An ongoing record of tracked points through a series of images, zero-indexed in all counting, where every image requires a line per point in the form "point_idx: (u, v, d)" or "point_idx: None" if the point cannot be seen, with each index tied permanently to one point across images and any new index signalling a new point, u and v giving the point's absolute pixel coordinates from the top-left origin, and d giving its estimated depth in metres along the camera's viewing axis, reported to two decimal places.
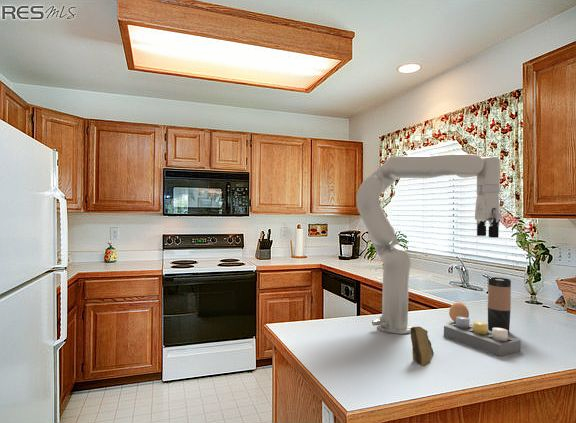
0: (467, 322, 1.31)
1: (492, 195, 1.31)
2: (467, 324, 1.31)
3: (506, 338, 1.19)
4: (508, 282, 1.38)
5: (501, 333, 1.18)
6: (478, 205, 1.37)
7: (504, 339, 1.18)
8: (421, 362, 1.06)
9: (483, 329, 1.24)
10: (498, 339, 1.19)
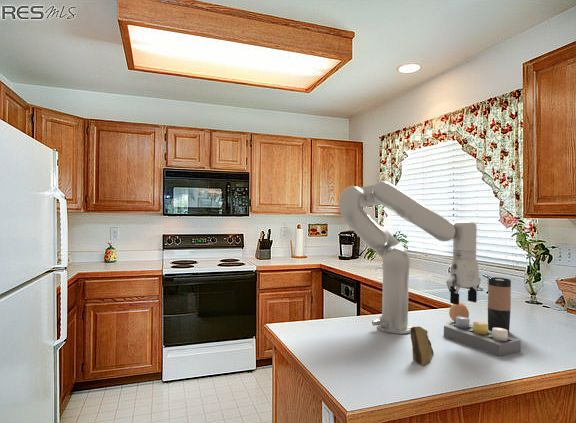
0: (467, 322, 1.31)
1: None
2: (467, 324, 1.31)
3: (506, 338, 1.19)
4: (508, 282, 1.38)
5: (501, 333, 1.18)
6: (468, 272, 1.30)
7: (504, 339, 1.18)
8: (421, 362, 1.06)
9: (483, 329, 1.24)
10: (498, 339, 1.19)
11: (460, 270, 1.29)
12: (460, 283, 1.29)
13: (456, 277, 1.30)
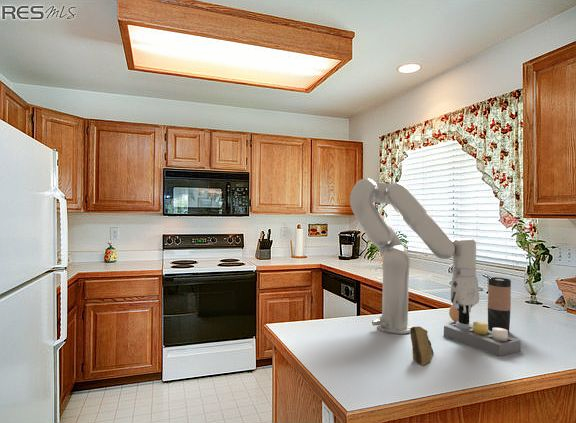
0: (467, 327, 1.31)
1: None
2: None
3: (506, 338, 1.19)
4: (508, 282, 1.38)
5: (501, 333, 1.18)
6: (468, 289, 1.30)
7: (504, 339, 1.18)
8: (421, 362, 1.06)
9: (483, 329, 1.24)
10: (498, 339, 1.19)
11: (460, 288, 1.29)
12: (460, 301, 1.29)
13: (456, 295, 1.30)
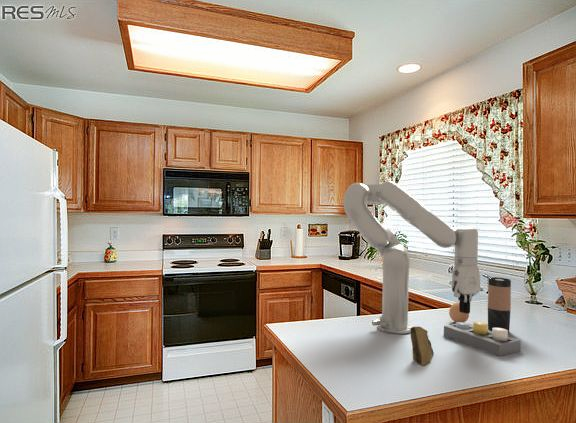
0: (467, 328, 1.31)
1: None
2: None
3: (506, 338, 1.19)
4: (508, 282, 1.38)
5: (501, 333, 1.18)
6: (470, 278, 1.29)
7: (504, 339, 1.18)
8: (421, 362, 1.06)
9: (483, 329, 1.24)
10: (498, 339, 1.19)
11: (461, 277, 1.28)
12: (461, 290, 1.28)
13: (457, 284, 1.29)
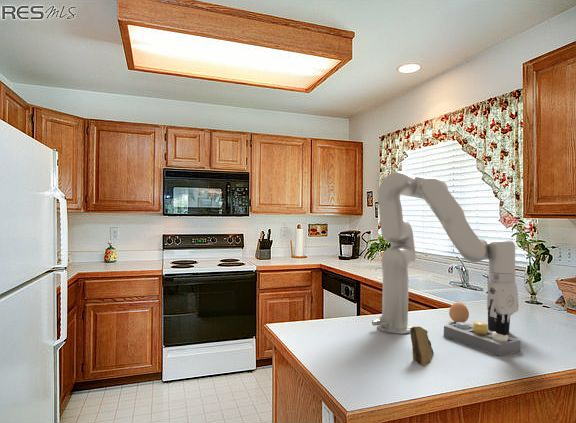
0: (467, 328, 1.31)
1: None
2: None
3: None
4: None
5: (501, 337, 1.18)
6: (507, 296, 1.17)
7: None
8: (421, 362, 1.06)
9: (483, 329, 1.24)
10: None
11: (499, 295, 1.16)
12: (499, 309, 1.16)
13: (494, 303, 1.17)
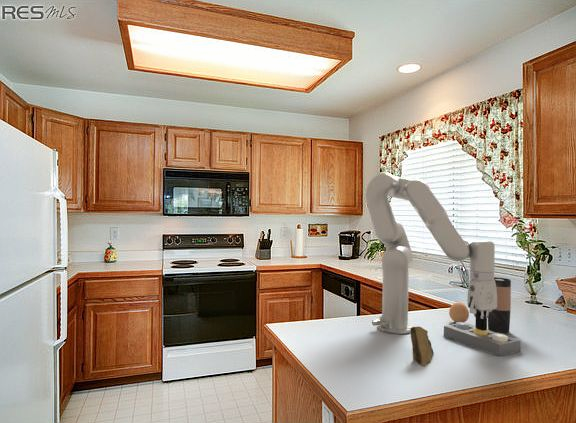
0: (467, 328, 1.31)
1: None
2: None
3: None
4: (508, 282, 1.38)
5: (501, 339, 1.18)
6: (486, 294, 1.24)
7: None
8: (421, 362, 1.06)
9: (483, 335, 1.24)
10: None
11: (478, 292, 1.23)
12: (478, 306, 1.22)
13: (474, 299, 1.24)
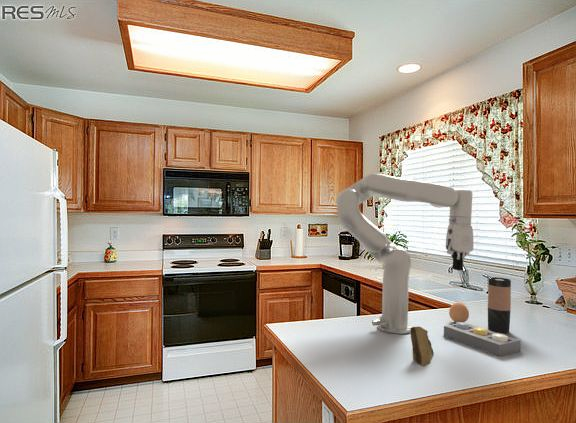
0: (467, 328, 1.31)
1: None
2: None
3: None
4: (508, 282, 1.38)
5: (501, 339, 1.18)
6: (463, 236, 1.36)
7: None
8: (421, 362, 1.06)
9: (483, 335, 1.24)
10: None
11: (455, 234, 1.36)
12: (454, 247, 1.35)
13: (451, 241, 1.36)
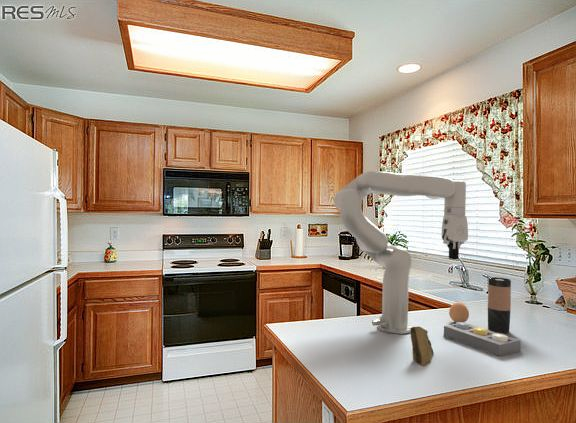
0: (467, 328, 1.31)
1: None
2: None
3: None
4: (508, 282, 1.38)
5: (501, 339, 1.18)
6: (458, 226, 1.40)
7: None
8: (421, 362, 1.06)
9: (483, 335, 1.24)
10: None
11: (450, 224, 1.39)
12: (450, 236, 1.39)
13: (446, 231, 1.40)
